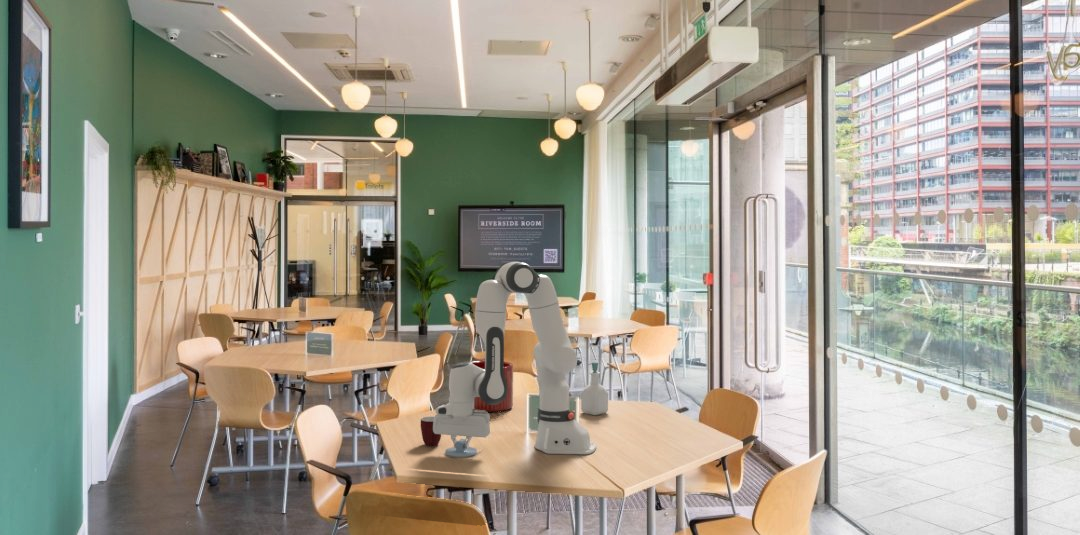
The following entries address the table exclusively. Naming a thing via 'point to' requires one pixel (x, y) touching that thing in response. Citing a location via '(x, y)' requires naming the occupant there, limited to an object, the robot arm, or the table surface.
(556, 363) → the robot arm
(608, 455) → the table surface
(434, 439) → the mug
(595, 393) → the soap bottle
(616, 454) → the table surface
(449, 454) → the lid
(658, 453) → the table surface
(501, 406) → the planter
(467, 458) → the mat
